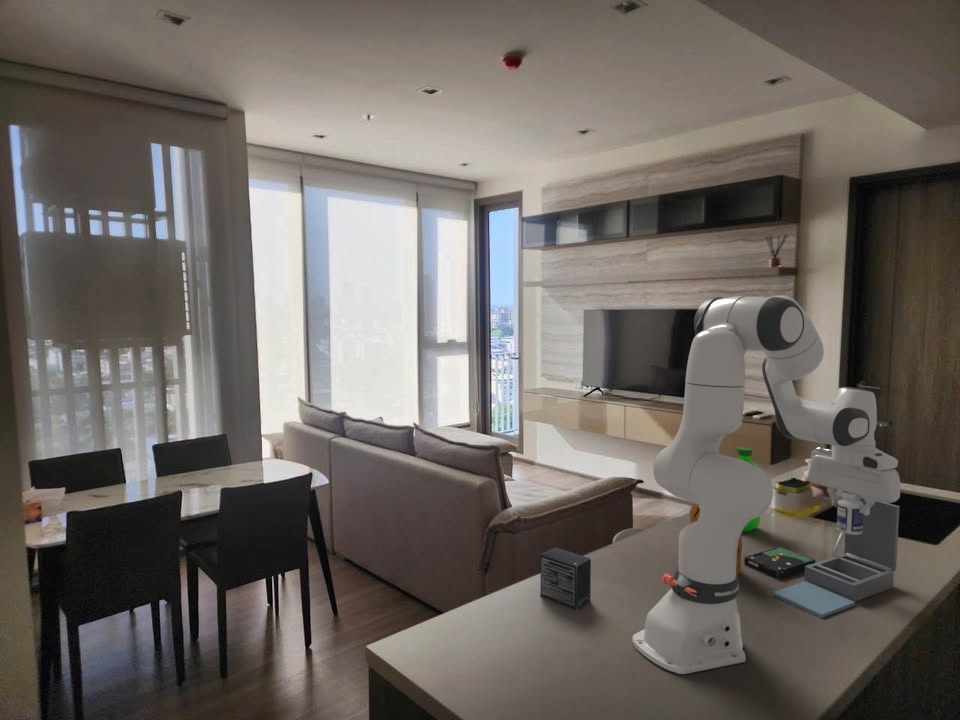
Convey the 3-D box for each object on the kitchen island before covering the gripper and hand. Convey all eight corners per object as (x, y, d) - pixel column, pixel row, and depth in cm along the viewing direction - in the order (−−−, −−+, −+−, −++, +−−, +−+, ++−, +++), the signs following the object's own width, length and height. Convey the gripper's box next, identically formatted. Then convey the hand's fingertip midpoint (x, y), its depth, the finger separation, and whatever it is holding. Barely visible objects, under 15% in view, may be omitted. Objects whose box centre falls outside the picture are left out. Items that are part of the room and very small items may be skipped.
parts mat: (821, 618, 132) (821, 614, 132) (772, 595, 143) (773, 592, 143) (854, 605, 138) (854, 602, 138) (805, 584, 149) (805, 581, 149)
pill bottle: (862, 529, 148) (864, 490, 147) (862, 536, 143) (864, 496, 142) (836, 525, 151) (838, 487, 150) (835, 532, 146) (837, 492, 145)
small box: (592, 600, 141) (592, 557, 140) (576, 611, 136) (576, 566, 136) (555, 587, 148) (555, 545, 147) (539, 596, 144) (539, 553, 143)
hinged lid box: (852, 602, 139) (856, 517, 138) (800, 580, 151) (803, 501, 149) (895, 586, 147) (899, 506, 145) (842, 566, 159) (845, 491, 157)
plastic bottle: (760, 525, 189) (762, 446, 187) (760, 536, 179) (763, 454, 177) (725, 520, 193) (727, 443, 191) (724, 532, 183) (726, 451, 181)
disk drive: (778, 582, 151) (816, 569, 158) (778, 571, 151) (816, 558, 158) (743, 566, 160) (780, 555, 167) (743, 556, 160) (780, 545, 167)
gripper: (804, 446, 153) (801, 500, 154) (889, 465, 135) (886, 525, 136) (819, 444, 156) (817, 496, 157) (905, 461, 138) (902, 521, 139)
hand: (850, 510), depth 146 cm, fingers closed on pill bottle, 5 cm apart
